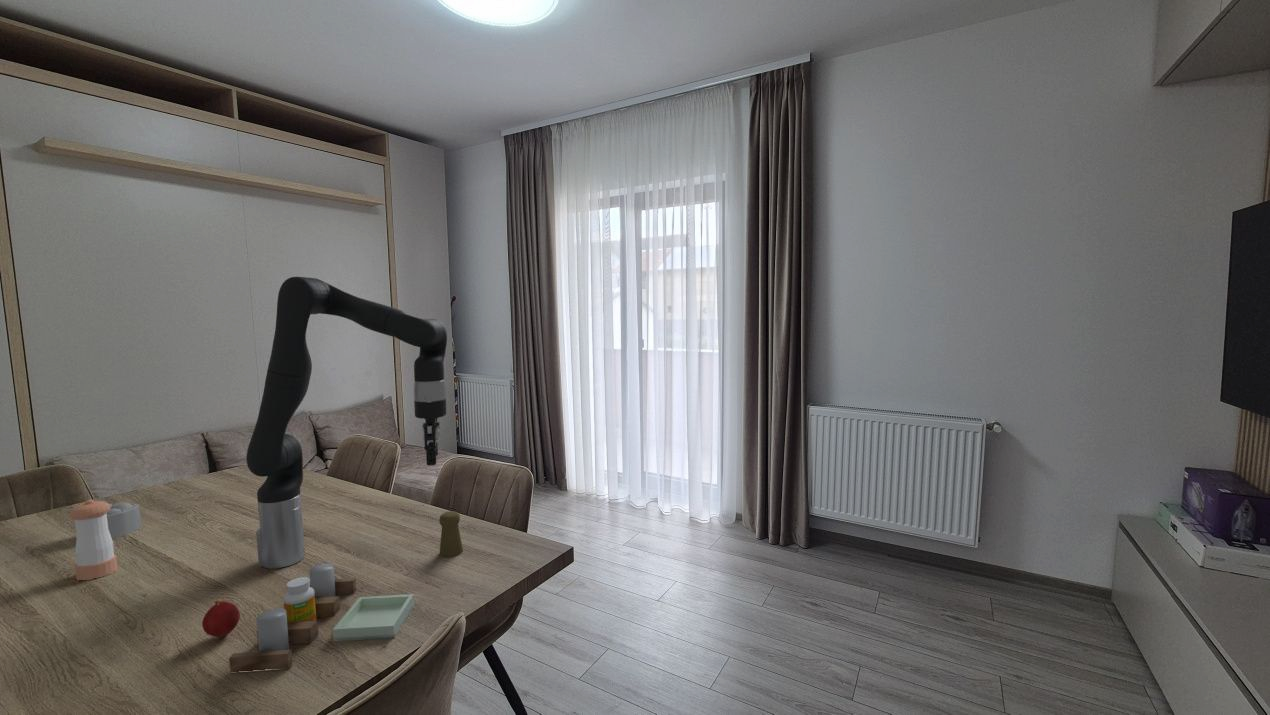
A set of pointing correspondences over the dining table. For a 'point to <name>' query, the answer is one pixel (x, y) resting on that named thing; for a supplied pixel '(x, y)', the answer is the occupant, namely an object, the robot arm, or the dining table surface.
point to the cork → (450, 535)
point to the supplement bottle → (300, 601)
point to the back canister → (323, 580)
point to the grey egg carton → (123, 519)
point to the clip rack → (293, 634)
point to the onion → (221, 619)
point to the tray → (374, 618)
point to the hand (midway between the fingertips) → (432, 460)
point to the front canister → (273, 630)
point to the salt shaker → (93, 541)
